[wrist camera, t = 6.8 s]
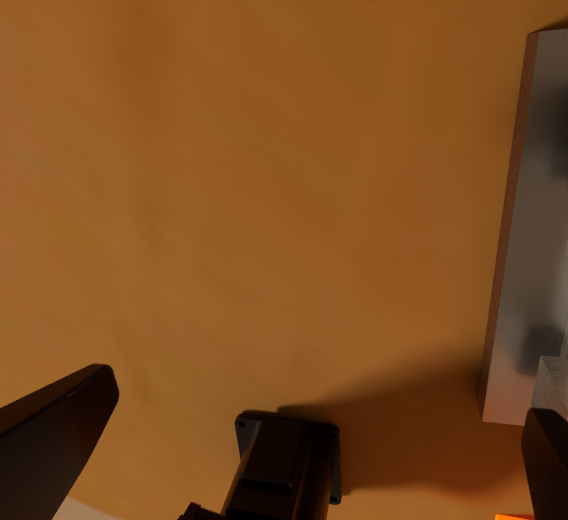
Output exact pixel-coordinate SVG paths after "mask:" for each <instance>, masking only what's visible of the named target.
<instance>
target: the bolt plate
mask: <svg viewBox="0 0 568 520" xmlns="http://www.w3.org/2000/svg"><path fill="white" fill-rule="evenodd" d="M477 402H478V406H479V410H480V414H481V418H482V421H484V422H493V423H502V424H511V425H520V426H524V425H525V420H526V415H527V411H528V410H529V409H530V408H532V407H537V408H547V409H553V410H555V411H557V412H558V413H559V414H560V415H561V416H563V417H564V418H565V419H566V420H567V421H568V29H560V30H549V31H540V32H535V33H531V34H527V41H526V48H525V55H524V63H523V70H522V77H521V84H520V92H519V99H518V106H517V113H516V121H515V128H514V135H513V142H512V150H511V157H510V164H509V171H508V179H507V186H506V193H505V200H504V208H503V215H502V222H501V229H500V237H499V244H498V251H497V258H496V266H495V273H494V280H493V288H492V295H491V302H490V309H489V317H488V324H487V331H486V338H485V346H484V353H483V360H482V367H481V375H480V382H479V389H478V396H477Z"/></svg>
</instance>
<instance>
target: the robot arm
mask: <svg viewBox="0 0 568 520" xmlns="http://www.w3.org/2000/svg"><path fill="white" fill-rule="evenodd" d="M118 399H119V389H118V386H117V382H116V379H115V376H114V372H113V369H112V368H111V367H110V366H109V365H107V364H97V363H96V364H91V365H89V366H87V367H84V368H82V369H80V370H78V371H76V372H74V373H72V374H70V375H68V376H66V377H64V378H62V379H60V380H58V381H55V382H53V383H51V384H49V385H47V386H45V387H43V388H41V389H39V390H37V391H35V392H33V393H31V394H29V395H26V396H24V397H22V398H20V399H18V400H16V401H14V402H12V403H10V404H8V405H6V406H4V407H2V408H0V520H52V518H53V517H54V515H55V514H56V512H57V510H58V509H59V507H60V506H61V504H62V502H63V501H64V499H65V497H66V496H67V494H68V493H69V491H70V489H71V488H72V486H73V485H74V483H75V481H76V480H77V478H78V476H79V475H80V473H81V472H82V470H83V468H84V467H85V465H86V463H87V461H88V460H89V458H90V456H91V454H92V452H93V450H94V448H95V446H96V444H97V442H98V440H99V438H100V436H101V434H102V432H103V430H104V428H105V426H106V424H107V422H108V420H109V418H110V416H111V414H112V412H113V410H114V408H115V406H116V404H117V402H118ZM242 421H243V422H242ZM244 422H245V423H244ZM235 428H236V434H237V440H238V446H239V452H240V458H241V461H240V464H239V466H238V469H237V471H236V474H235V477H234V479H233V482H232V484H231V487H230V489H229V492H228V494H227V497H226V500H225V502H224V505H223V507H222V510H221V512H220V514H219V513H216V512H213V511H210V510H207V509H204V508H202V507H201V505H199V504H196V503H193V502H191V503H190V505H189V506H188V508H187V510H186V511H185V513H184V515H180V517H179V519H177V520H326V518H327V512H328V505H329V504H333V505H337V504H340V503H341V498H342V483H341V454H340V431H339V428H338V427H337V426H335V425H332V424H325V423H317V422H309V421H300V420H292V419H284V418H276V417H268V416H259V415H251V414H239V415H238V416H237V418H236V420H235ZM331 433H333V434H331ZM521 447H522V455H523V460H524V465H525V470H526V475H527V480H528V485H529V490H530V495H531V500H532V505H533V510H534V516H535V520H568V421H567V420H566V419H565V418H564V417H563V416H561V415H560V414H559V413H558V412H557V411H555V410H553V409H547V408H537V407H532V408H530V409H529V410H528V411H527V415H526V420H525V425H524V430H523V435H522V441H521Z"/></svg>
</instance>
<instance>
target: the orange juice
mask: <svg viewBox="0 0 568 520" xmlns="http://www.w3.org/2000/svg"><path fill="white" fill-rule="evenodd" d="M495 520H527V519H522V518H516V517H510V516H505V515H499V514H497V515H496V519H495Z"/></svg>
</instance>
